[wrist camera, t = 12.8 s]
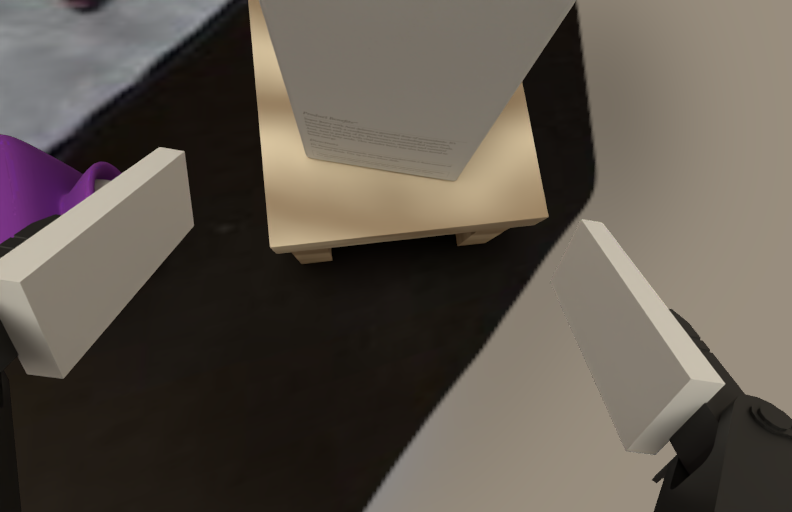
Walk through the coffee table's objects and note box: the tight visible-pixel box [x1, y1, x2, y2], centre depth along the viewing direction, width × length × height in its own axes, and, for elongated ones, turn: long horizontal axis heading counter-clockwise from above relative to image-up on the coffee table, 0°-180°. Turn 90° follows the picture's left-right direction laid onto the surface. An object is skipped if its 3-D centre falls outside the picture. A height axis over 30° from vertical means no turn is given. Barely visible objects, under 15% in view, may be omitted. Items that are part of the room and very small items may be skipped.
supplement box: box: [259, 0, 576, 181], centre depth 17 cm, size 9×9×15 cm
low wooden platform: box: [248, 0, 548, 264], centre depth 29 cm, size 16×16×10 cm
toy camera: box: [0, 135, 122, 244], centre depth 26 cm, size 11×14×10 cm
